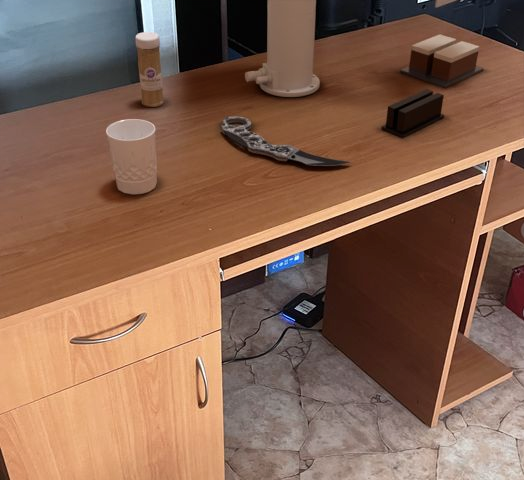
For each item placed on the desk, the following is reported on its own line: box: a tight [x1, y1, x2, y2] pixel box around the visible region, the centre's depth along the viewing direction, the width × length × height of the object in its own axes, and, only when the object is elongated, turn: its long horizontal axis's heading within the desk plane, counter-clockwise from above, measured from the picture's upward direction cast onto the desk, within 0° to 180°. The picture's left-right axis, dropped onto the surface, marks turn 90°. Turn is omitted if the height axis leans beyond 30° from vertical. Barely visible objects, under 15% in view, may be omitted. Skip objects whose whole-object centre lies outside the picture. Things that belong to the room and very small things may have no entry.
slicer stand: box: [380, 88, 445, 139], centre depth 150 cm, size 13×5×5 cm, turn 134°
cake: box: [399, 33, 484, 89], centre depth 170 cm, size 14×12×6 cm
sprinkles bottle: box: [135, 31, 165, 108], centre depth 154 cm, size 5×5×14 cm
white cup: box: [105, 118, 158, 195], centre depth 129 cm, size 8×8×10 cm
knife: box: [220, 115, 352, 167], centre depth 143 cm, size 28×2×10 cm
